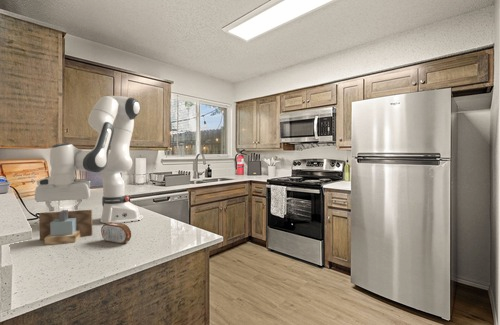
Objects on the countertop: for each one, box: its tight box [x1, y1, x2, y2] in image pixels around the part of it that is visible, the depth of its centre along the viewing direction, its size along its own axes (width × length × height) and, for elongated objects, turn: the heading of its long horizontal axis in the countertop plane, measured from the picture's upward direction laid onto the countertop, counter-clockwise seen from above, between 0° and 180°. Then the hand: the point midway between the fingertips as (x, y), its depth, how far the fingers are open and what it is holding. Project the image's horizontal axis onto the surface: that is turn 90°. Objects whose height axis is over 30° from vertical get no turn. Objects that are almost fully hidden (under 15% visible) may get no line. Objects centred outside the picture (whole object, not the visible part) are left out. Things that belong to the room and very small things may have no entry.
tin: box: [100, 222, 132, 245], centre depth 110 cm, size 15×3×8 cm, turn 71°
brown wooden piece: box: [38, 209, 93, 246], centre depth 112 cm, size 20×10×12 cm, turn 111°
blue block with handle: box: [50, 209, 76, 236], centre depth 112 cm, size 8×6×10 cm
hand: (64, 210), depth 112 cm, fingers open, 8 cm apart
